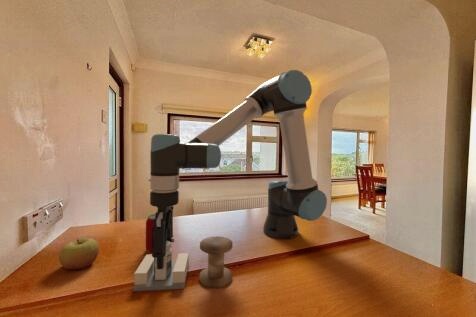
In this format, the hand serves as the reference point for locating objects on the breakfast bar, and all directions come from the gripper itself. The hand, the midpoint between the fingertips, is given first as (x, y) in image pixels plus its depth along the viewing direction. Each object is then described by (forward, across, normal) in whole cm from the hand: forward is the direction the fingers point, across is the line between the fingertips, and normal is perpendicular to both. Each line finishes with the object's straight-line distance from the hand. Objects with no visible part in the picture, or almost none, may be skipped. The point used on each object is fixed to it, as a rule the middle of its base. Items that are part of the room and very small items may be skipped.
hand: (163, 271), depth 61 cm
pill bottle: (+1, 0, 0) cm, 1 cm away
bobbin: (+1, +2, +15) cm, 15 cm away
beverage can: (+2, -17, -6) cm, 18 cm away
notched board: (+1, 0, 0) cm, 1 cm away
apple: (+2, -8, -26) cm, 28 cm away
